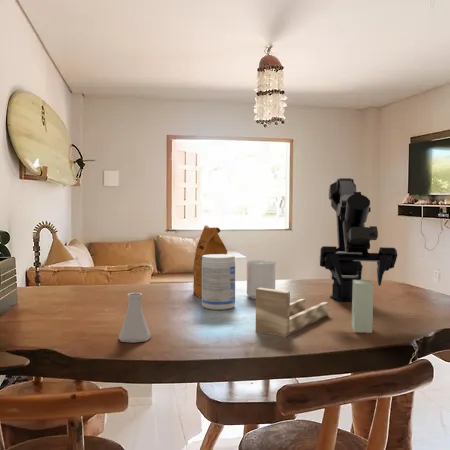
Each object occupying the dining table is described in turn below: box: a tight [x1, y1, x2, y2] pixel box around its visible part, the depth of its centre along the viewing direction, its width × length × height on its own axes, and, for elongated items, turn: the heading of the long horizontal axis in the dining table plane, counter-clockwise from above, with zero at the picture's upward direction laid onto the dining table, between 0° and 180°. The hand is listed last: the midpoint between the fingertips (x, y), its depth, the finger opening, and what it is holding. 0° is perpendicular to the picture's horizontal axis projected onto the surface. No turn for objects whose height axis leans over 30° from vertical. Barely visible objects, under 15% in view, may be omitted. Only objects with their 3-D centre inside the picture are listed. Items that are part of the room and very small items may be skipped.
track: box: [255, 288, 329, 338], centre depth 117 cm, size 24×8×10 cm, turn 145°
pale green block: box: [351, 279, 375, 334], centre depth 112 cm, size 5×4×12 cm
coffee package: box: [192, 225, 228, 298], centre depth 150 cm, size 10×12×22 cm
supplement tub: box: [201, 253, 236, 311], centre depth 134 cm, size 10×10×15 cm
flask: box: [118, 292, 152, 344], centre depth 104 cm, size 7×7×10 cm
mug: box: [246, 259, 277, 300], centre depth 149 cm, size 12×9×11 cm
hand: (360, 284), depth 115 cm, fingers open, 9 cm apart
